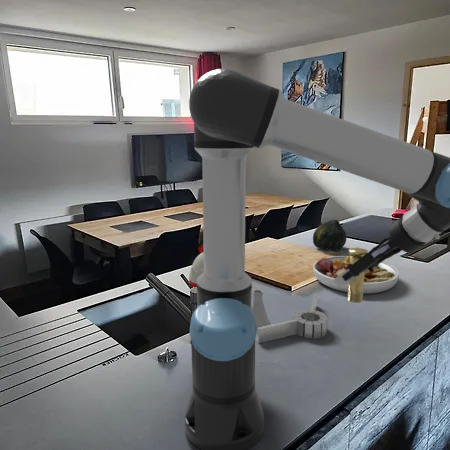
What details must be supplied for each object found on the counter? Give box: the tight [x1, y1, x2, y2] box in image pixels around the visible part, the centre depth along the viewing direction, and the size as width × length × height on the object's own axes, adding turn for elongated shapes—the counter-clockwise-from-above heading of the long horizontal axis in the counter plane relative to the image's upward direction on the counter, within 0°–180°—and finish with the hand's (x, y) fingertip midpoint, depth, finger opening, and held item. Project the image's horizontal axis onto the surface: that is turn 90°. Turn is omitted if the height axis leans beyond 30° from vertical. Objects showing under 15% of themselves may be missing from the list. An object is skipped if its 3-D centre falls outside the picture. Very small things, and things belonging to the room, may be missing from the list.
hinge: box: [256, 293, 329, 344], centre depth 115 cm, size 27×18×4 cm, turn 163°
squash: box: [312, 219, 347, 251], centre depth 186 cm, size 14×15×15 cm
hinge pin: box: [347, 247, 369, 304], centre depth 98 cm, size 4×4×13 cm
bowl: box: [312, 255, 400, 295], centre depth 147 cm, size 30×30×8 cm
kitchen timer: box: [188, 244, 204, 288], centre depth 147 cm, size 14×14×15 cm
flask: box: [251, 288, 271, 328], centre depth 115 cm, size 7×7×10 cm
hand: (342, 281), depth 102 cm, fingers closed on hinge pin, 3 cm apart
